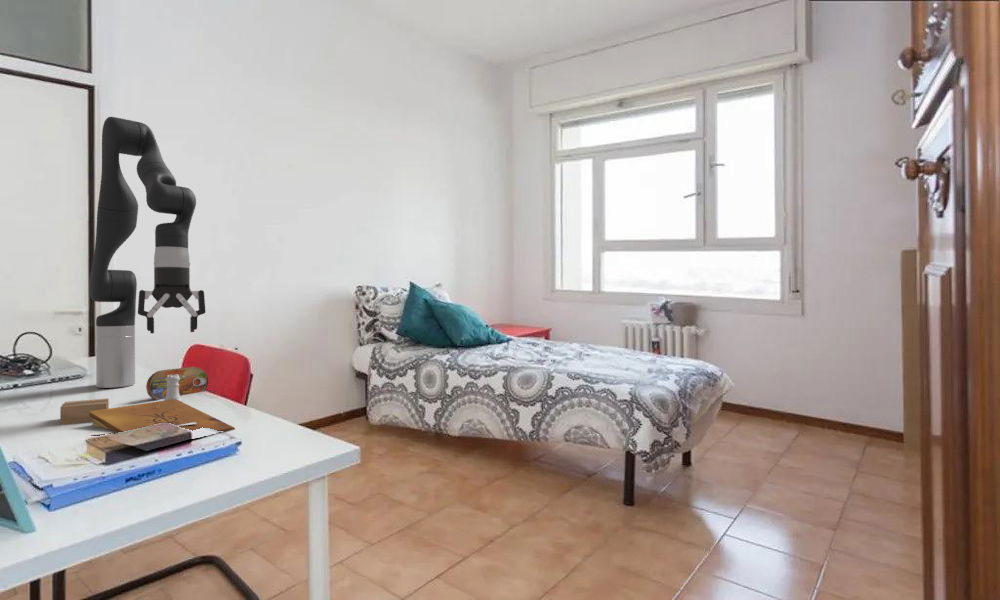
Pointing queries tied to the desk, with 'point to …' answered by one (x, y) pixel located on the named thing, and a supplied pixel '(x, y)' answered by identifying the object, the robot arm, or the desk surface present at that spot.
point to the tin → (188, 383)
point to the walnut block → (81, 410)
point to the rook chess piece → (172, 388)
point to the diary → (155, 417)
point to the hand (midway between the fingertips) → (172, 332)
